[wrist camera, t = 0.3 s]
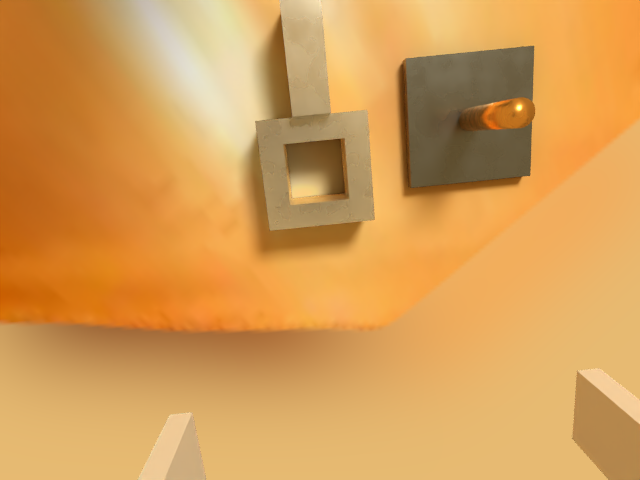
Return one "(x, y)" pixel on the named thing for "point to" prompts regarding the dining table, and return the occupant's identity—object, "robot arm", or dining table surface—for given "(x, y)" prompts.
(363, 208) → the square loop with stem
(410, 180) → the peg on square plate
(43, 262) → the dining table surface
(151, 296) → the dining table surface
